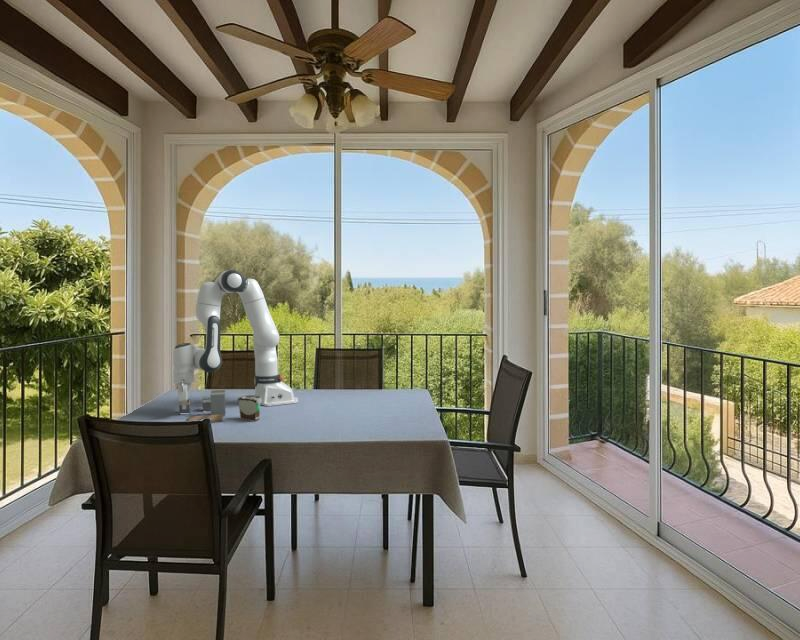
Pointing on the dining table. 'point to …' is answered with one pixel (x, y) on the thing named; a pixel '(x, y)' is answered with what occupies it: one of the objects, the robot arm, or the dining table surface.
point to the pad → (213, 417)
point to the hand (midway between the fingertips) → (184, 407)
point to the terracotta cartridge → (186, 407)
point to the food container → (249, 407)
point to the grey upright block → (217, 402)
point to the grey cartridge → (206, 403)
